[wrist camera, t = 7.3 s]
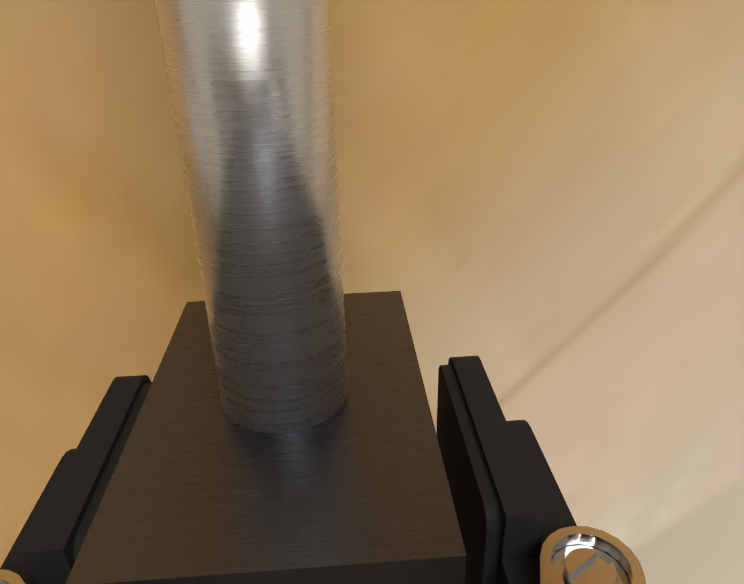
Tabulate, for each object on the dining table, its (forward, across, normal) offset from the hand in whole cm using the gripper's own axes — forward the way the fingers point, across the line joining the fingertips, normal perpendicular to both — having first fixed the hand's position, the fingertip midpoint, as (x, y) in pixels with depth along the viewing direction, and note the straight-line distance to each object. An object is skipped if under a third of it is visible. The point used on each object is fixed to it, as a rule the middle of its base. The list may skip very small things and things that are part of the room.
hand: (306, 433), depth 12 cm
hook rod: (+1, 0, -9) cm, 9 cm away
